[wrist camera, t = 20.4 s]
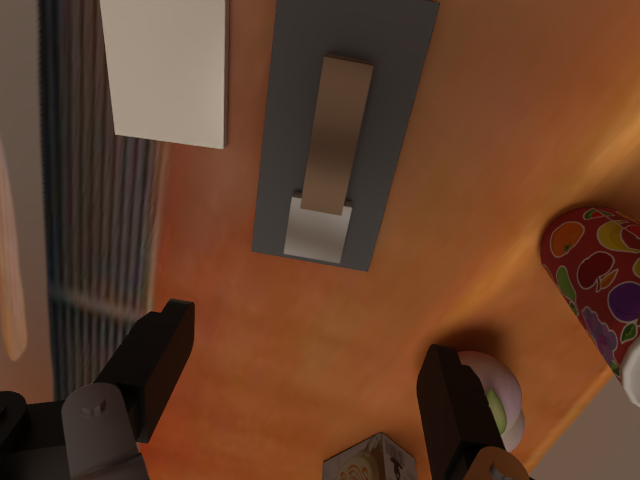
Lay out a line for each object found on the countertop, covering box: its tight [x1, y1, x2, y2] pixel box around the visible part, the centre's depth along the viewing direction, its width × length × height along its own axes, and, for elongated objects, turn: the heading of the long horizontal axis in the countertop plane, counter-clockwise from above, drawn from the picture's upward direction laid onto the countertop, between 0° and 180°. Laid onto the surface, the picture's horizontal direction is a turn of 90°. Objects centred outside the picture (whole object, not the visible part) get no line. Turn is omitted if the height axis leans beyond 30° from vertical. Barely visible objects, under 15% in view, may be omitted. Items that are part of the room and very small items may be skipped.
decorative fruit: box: [458, 351, 525, 452], centre depth 35 cm, size 9×8×10 cm
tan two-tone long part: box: [284, 53, 374, 263], centre depth 29 cm, size 15×5×3 cm, turn 170°
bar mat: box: [252, 0, 440, 272], centre depth 30 cm, size 10×20×1 cm, turn 170°
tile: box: [100, 0, 229, 149], centre depth 28 cm, size 8×2×11 cm
